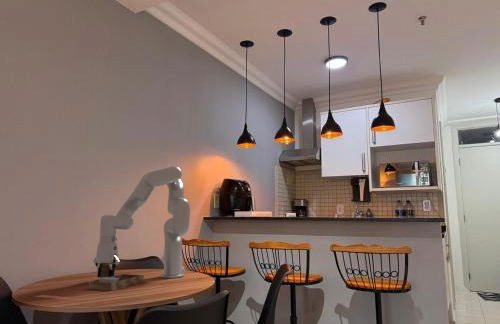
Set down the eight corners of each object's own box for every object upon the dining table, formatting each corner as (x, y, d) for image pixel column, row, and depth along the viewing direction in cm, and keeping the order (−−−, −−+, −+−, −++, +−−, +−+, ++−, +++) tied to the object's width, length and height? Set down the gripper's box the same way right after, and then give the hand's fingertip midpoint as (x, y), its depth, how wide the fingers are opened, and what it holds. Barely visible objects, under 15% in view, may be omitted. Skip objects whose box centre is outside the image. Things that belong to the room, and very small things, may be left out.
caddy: (121, 282, 180) (121, 273, 181) (143, 283, 176) (143, 275, 177) (88, 290, 160) (89, 281, 160) (112, 292, 155) (113, 283, 156)
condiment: (116, 282, 180) (118, 257, 181) (104, 285, 172) (105, 259, 174) (105, 281, 182) (107, 257, 184) (92, 284, 175) (94, 259, 177)
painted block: (104, 285, 165) (104, 277, 166) (118, 287, 163) (119, 277, 163) (98, 287, 162) (98, 278, 162) (112, 288, 159) (113, 279, 160)
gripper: (126, 239, 181) (125, 276, 178) (99, 239, 187) (97, 275, 184) (116, 240, 174) (114, 279, 171) (88, 240, 180) (86, 277, 177)
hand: (105, 276), depth 178 cm, fingers closed on condiment, 6 cm apart
